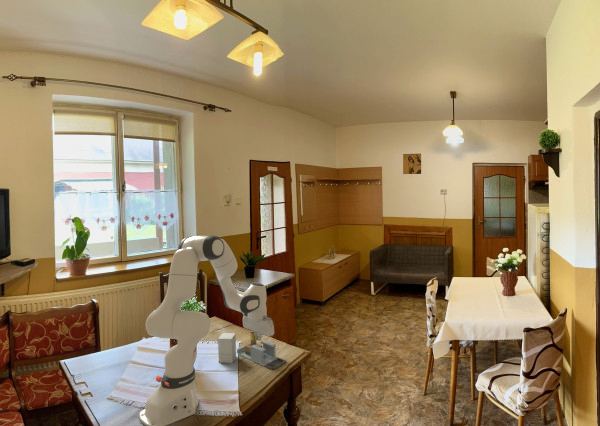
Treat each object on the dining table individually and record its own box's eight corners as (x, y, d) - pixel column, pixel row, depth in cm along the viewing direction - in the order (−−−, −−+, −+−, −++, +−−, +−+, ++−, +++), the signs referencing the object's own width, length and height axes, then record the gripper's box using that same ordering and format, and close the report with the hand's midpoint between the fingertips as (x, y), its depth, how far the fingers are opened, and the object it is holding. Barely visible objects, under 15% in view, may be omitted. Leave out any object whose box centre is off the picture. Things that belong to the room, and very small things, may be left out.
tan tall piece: (254, 357, 184) (253, 336, 183) (244, 353, 188) (244, 332, 188) (262, 352, 189) (262, 332, 188) (253, 349, 193) (253, 329, 192)
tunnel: (272, 370, 173) (272, 355, 172) (236, 354, 190) (236, 340, 189) (286, 362, 180) (286, 348, 180) (250, 347, 197) (250, 334, 197)
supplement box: (236, 356, 187) (236, 333, 186) (232, 363, 180) (232, 338, 179) (222, 355, 188) (222, 332, 187) (218, 362, 180) (217, 338, 179)
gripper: (276, 316, 180) (277, 343, 181) (249, 308, 194) (249, 333, 194) (268, 320, 176) (268, 347, 177) (240, 311, 189) (240, 336, 190)
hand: (258, 340), depth 186 cm, fingers closed
